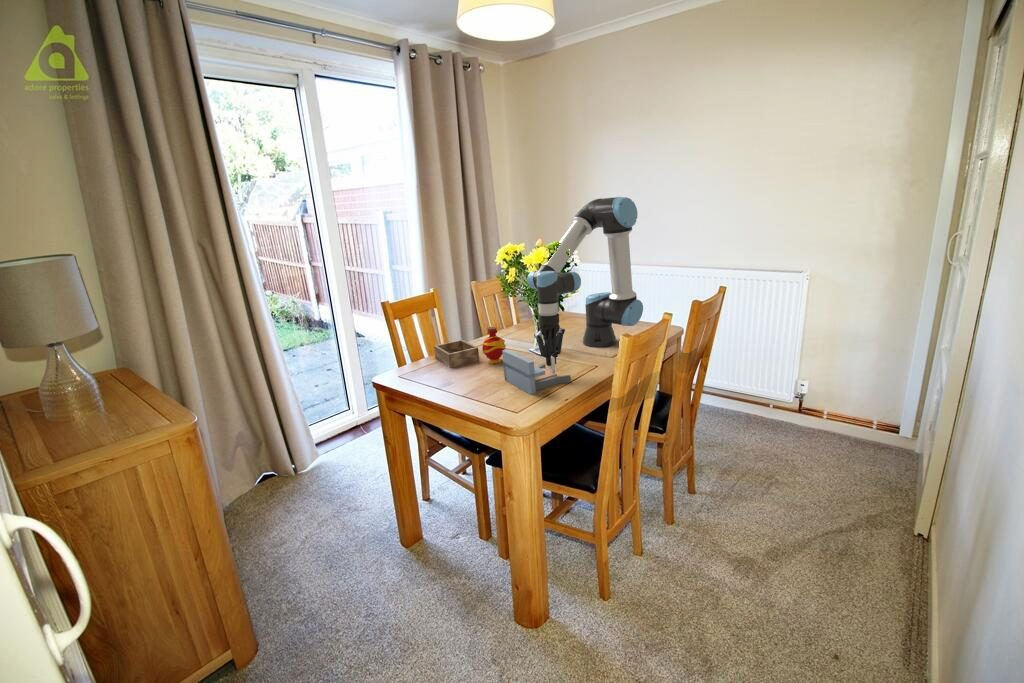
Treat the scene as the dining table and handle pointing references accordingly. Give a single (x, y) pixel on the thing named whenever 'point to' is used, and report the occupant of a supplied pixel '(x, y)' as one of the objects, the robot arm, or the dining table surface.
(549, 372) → the terracotta tile
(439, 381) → the dining table surface
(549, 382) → the grey docking fixture
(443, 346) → the walnut display tray
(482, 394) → the dining table surface
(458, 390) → the dining table surface
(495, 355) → the potion bottle
